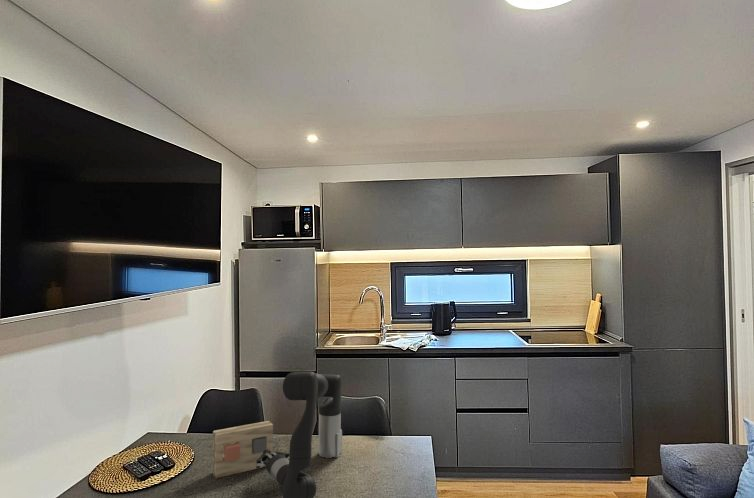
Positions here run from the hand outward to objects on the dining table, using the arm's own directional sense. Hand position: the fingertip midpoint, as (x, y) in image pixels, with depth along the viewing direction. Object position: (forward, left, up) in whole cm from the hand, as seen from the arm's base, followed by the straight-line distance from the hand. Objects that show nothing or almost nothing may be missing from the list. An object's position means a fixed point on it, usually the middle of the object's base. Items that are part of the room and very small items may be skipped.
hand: (265, 452), depth 175 cm
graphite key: (+6, -6, -3) cm, 9 cm away
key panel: (+11, -4, -9) cm, 15 cm away
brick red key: (+12, +3, -3) cm, 13 cm away
